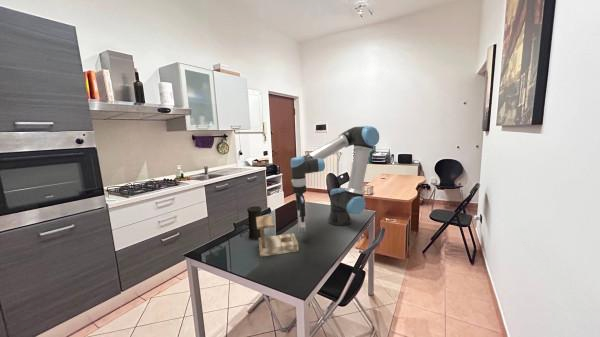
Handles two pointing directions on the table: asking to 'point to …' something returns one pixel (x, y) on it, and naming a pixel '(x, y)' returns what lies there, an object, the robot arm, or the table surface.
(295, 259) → the table surface
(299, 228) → the peg
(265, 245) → the socket station
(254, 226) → the container
